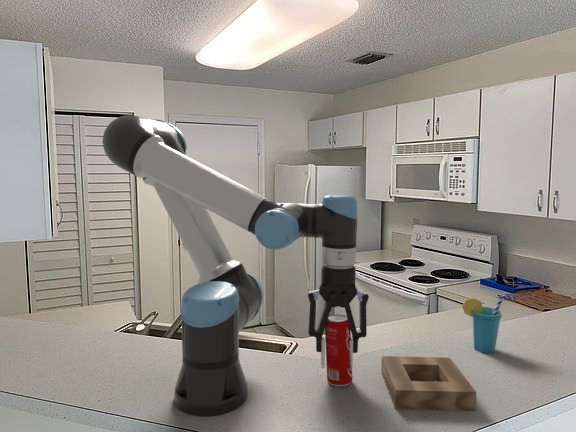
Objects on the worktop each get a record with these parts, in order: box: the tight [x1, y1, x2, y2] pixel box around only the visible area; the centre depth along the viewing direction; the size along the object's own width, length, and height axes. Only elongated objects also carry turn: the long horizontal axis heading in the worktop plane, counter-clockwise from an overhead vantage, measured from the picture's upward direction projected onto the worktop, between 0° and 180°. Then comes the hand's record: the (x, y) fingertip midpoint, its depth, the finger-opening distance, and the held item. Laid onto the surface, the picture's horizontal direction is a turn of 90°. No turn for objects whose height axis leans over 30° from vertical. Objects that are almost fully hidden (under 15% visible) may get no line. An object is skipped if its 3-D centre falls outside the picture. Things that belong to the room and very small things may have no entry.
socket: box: [380, 355, 477, 412], centre depth 96 cm, size 16×16×4 cm
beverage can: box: [324, 314, 354, 387], centre depth 99 cm, size 6×6×15 cm
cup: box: [461, 294, 516, 354], centre depth 118 cm, size 14×8×15 cm, turn 96°
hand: (336, 365), depth 100 cm, fingers closed on beverage can, 5 cm apart
